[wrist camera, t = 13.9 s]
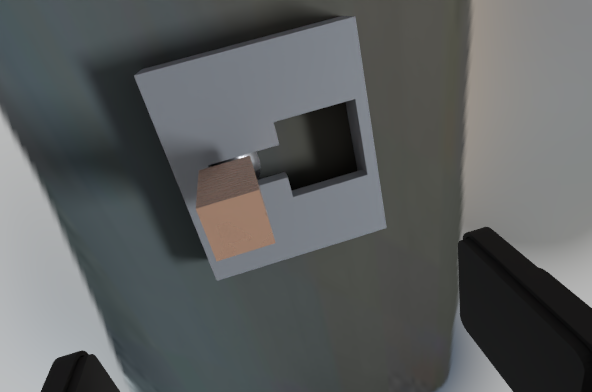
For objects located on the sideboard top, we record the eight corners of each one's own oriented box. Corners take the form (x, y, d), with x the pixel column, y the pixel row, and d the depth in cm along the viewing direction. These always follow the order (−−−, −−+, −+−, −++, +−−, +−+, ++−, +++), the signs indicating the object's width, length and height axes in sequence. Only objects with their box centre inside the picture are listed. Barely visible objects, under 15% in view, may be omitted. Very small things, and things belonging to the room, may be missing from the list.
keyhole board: (141, 69, 28) (133, 75, 26) (341, 16, 30) (355, 16, 27) (216, 259, 36) (216, 280, 33) (372, 211, 37) (386, 227, 34)
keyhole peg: (190, 143, 31) (181, 202, 21) (249, 126, 32) (266, 177, 22) (210, 196, 33) (210, 272, 24) (265, 180, 34) (287, 248, 24)
